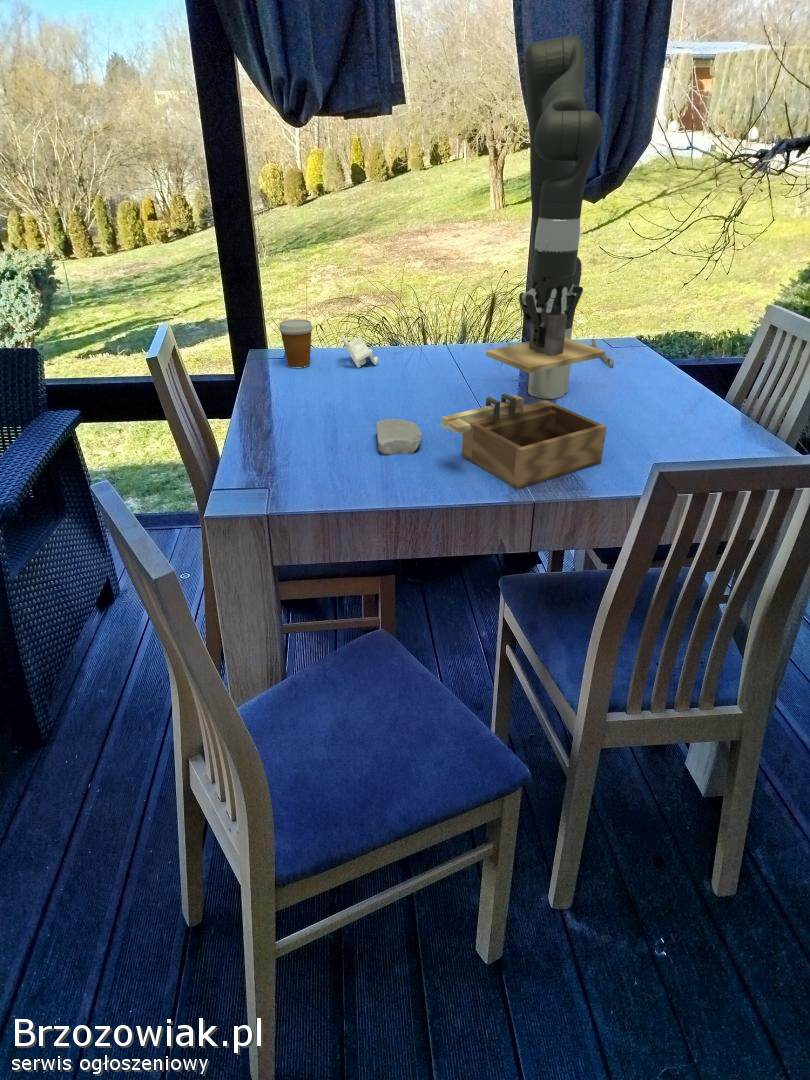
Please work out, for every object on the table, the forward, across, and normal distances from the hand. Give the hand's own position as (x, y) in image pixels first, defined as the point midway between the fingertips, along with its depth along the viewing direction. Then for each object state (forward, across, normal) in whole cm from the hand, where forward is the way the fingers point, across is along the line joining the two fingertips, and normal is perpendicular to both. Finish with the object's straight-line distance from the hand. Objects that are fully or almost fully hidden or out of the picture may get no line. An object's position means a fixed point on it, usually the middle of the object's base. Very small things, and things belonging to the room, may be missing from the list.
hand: (546, 344), depth 128 cm
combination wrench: (+25, -65, -45) cm, 83 cm away
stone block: (+24, +19, -22) cm, 38 cm away
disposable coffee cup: (+24, +14, -86) cm, 90 cm away
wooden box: (+24, 0, -1) cm, 24 cm away
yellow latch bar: (+16, +8, -7) cm, 19 cm away
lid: (+2, 0, 0) cm, 2 cm away
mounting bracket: (+24, -2, -79) cm, 83 cm away
